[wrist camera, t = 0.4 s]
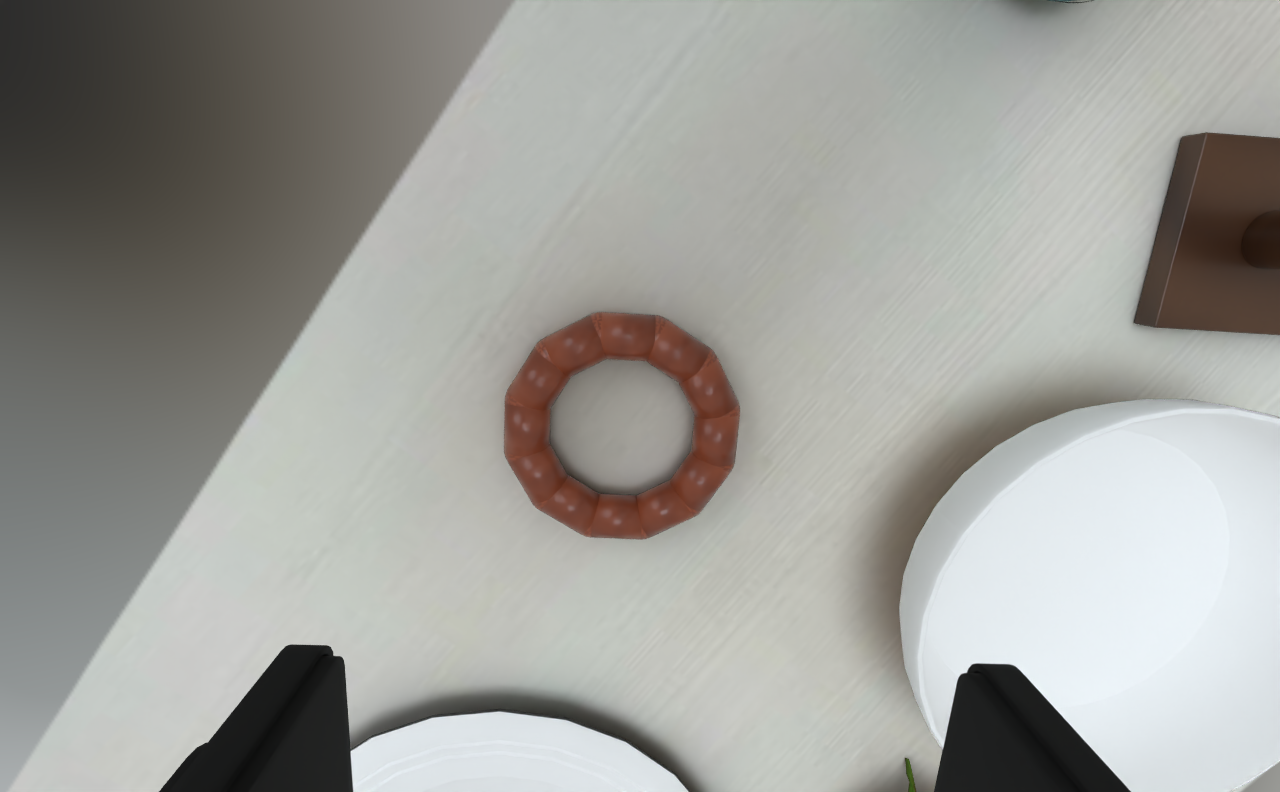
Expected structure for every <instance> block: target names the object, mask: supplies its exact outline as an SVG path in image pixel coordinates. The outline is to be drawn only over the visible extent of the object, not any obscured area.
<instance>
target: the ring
mask: <svg viewBox="0 0 1280 792" xmlns="http://www.w3.org/2000/svg"><path fill="white" fill-rule="evenodd" d="M606 359H613V360H631V361H646V362H648V363H649V364H651V365H652V366H654V367H656V368H657V369H659V370H660V371H662V372H663V373H665V374H666V375H668V376H669V377H671V378H673V379H674V380H676V381H677V382H679V385H680V387H681V389H682V391H683V393H684V395H685V397H686V399H687V401H688V403H689V405H690V407H691V409H692V411H693V413H694V427H693V438H692V449H691V451H690V453H689V454H688V456H687V457H686V458H685V460H684V461H683V463H682V464H681V465H680V467H679V468H678V470H677V471H676V472H675V474H674V475H673V477H672V478H671V479H670V480H668V481H666V482H664V483H662V484H660V485H658V486H656V487H653V488H651V489H649V490H647V491H645V492H643V493H641V494H639V495H617V494H599V493H597V492H595V491H594V490H592V489H590V488H589V487H587V486H585V485H584V484H582V483H580V482H579V481H577V480H575V479H574V478H572V477H570V476H569V475H567V473H566V471H565V470H564V468H563V466H562V464H561V463H560V461H559V459H558V457H557V456H556V454H555V452H554V450H553V448H552V447H551V445H550V415H551V406H552V405H553V403H554V402H555V400H556V399H557V397H558V396H559V394H560V393H561V391H562V390H563V388H564V387H565V385H566V384H567V382H568V380H569V379H570V377H571V376H573V375H575V374H577V373H579V372H581V371H583V370H585V369H587V368H589V367H591V366H593V365H595V364H597V363H599V362H601V361H604V360H606ZM739 419H740V406H739V403H738V400H737V398H736V396H735V394H734V392H733V390H732V387H731V385H730V383H729V381H728V379H727V377H726V375H725V373H724V370H723V368H722V366H721V364H720V362H719V360H718V358H717V356H716V354H715V353H714V351H713V350H712V349H710V348H709V347H708V346H706V345H705V344H703V343H702V342H700V341H699V340H697V339H696V338H694V337H693V336H691V335H690V334H688V333H687V332H685V331H684V330H682V329H681V328H679V327H678V326H676V325H675V324H673V323H672V322H670V321H669V320H667V319H665V318H663V317H661V316H656V315H643V314H626V313H609V312H597V313H593V314H591V315H589V316H587V317H585V318H583V319H581V320H579V321H577V322H575V323H573V324H571V325H569V326H567V327H565V328H563V329H561V330H559V331H557V332H555V333H553V334H551V335H549V336H547V337H545V338H543V339H542V340H540V341H539V342H538V343H537V344H536V346H535V347H534V349H533V350H532V352H531V354H530V355H529V357H528V358H527V360H526V361H525V363H524V365H523V366H522V368H521V369H520V371H519V372H518V374H517V376H516V377H515V379H514V380H513V382H512V384H511V385H510V387H509V388H508V390H507V392H506V395H505V420H504V453H505V457H506V459H507V461H508V463H509V465H510V466H511V468H512V470H513V471H514V473H515V475H516V476H517V478H518V480H519V482H520V483H521V485H522V487H523V488H524V490H525V492H526V493H527V495H528V497H529V499H530V500H531V502H532V504H533V505H534V506H535V507H536V508H537V509H539V510H540V511H542V512H544V513H545V514H547V515H549V516H551V517H552V518H554V519H556V520H557V521H559V522H561V523H563V524H564V525H566V526H568V527H569V528H571V529H573V530H575V531H576V532H578V533H580V534H581V535H584V536H586V537H594V538H617V539H647V538H650V537H652V536H654V535H656V534H659V533H661V532H663V531H665V530H667V529H669V528H671V527H674V526H676V525H678V524H680V523H682V522H684V521H686V520H689V519H691V518H693V517H695V516H697V515H698V514H699V513H700V512H701V511H702V510H703V509H704V507H705V506H706V505H707V503H708V502H709V500H710V499H711V498H712V496H713V495H714V494H715V492H716V491H717V490H718V488H719V487H720V486H721V484H722V483H723V482H724V480H725V479H726V477H727V476H728V475H729V473H730V472H731V471H732V469H733V467H734V463H735V456H736V447H737V437H738V428H739Z"/></svg>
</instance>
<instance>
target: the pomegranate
mask: <svg viewBox="0 0 1280 792" xmlns="http://www.w3.org/2000/svg"><path fill="white" fill-rule="evenodd" d="M905 761H906V774H907V777H908V779H909V789H908V792H916V787H915V783H914V778H913V774H912V769H911V765H910V761H909V759H907V758H905Z"/></svg>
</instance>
